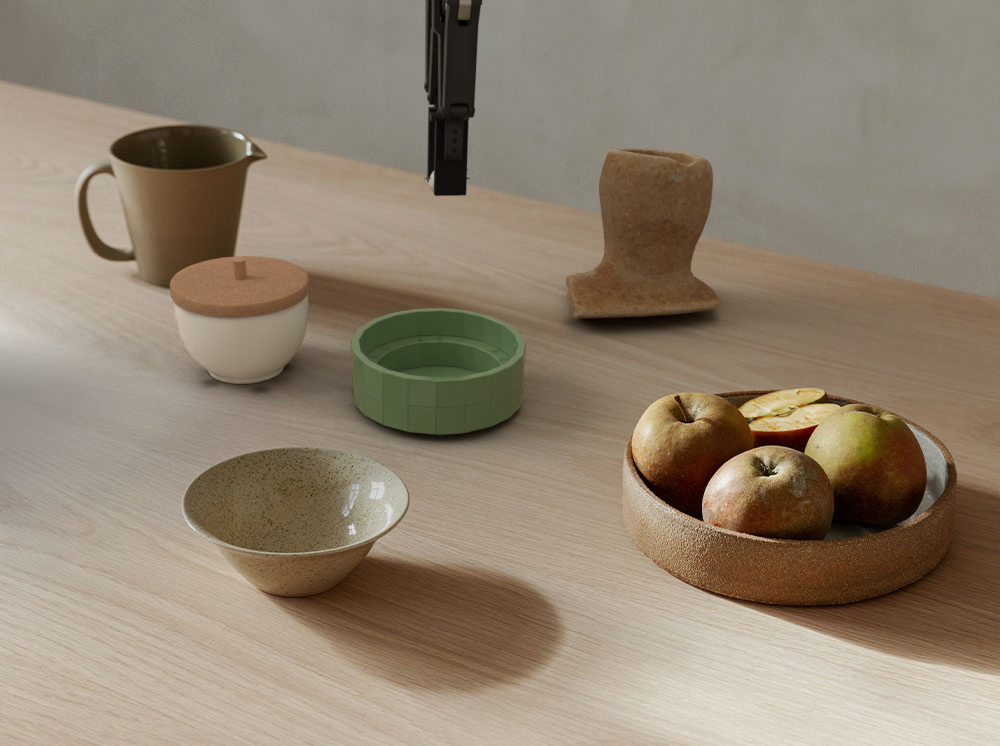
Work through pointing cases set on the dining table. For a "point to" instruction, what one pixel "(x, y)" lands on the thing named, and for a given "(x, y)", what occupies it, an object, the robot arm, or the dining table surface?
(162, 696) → the dining table surface
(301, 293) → the lidded sugar bowl
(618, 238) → the stone cup
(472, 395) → the green bowl
